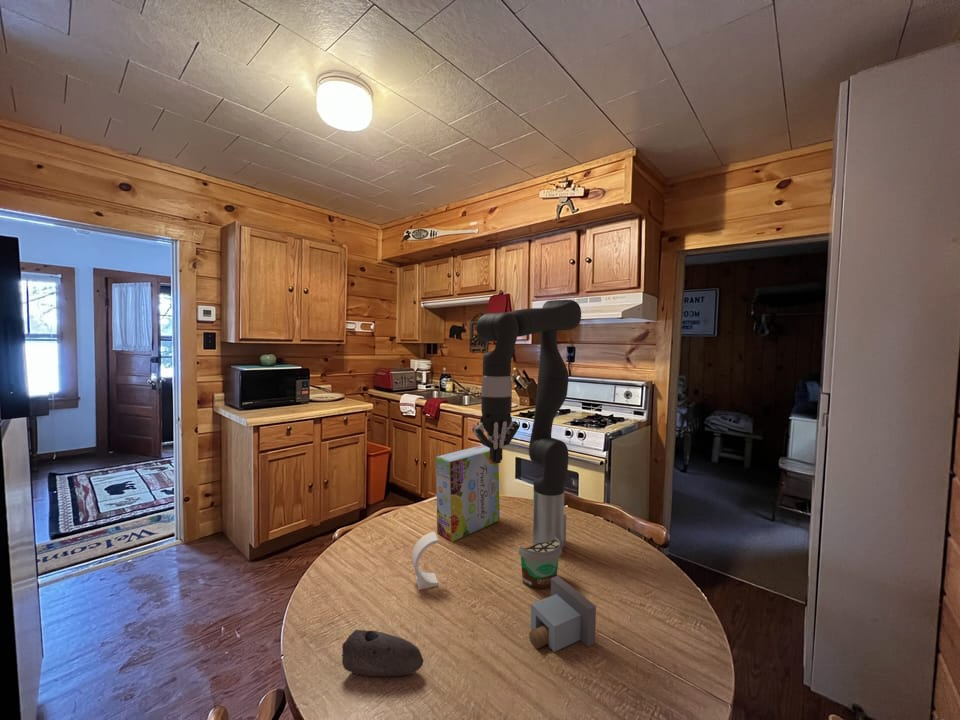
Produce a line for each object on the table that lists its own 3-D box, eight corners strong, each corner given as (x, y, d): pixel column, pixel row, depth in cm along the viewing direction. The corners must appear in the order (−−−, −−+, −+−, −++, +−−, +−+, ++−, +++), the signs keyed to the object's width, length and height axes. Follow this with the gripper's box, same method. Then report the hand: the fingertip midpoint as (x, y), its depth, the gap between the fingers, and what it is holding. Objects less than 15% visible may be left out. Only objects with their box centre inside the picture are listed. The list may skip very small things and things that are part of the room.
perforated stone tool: (426, 665, 76) (426, 630, 76) (419, 688, 71) (419, 651, 70) (352, 656, 78) (352, 622, 78) (339, 679, 73) (339, 642, 72)
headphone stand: (438, 585, 101) (438, 539, 100) (414, 590, 99) (414, 543, 98) (434, 575, 105) (434, 531, 104) (411, 580, 103) (411, 535, 102)
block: (556, 616, 89) (556, 594, 89) (580, 639, 82) (580, 615, 82) (530, 627, 86) (531, 603, 86) (554, 652, 79) (554, 626, 79)
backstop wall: (557, 609, 92) (557, 575, 92) (595, 643, 82) (595, 606, 81) (550, 611, 91) (550, 578, 91) (587, 647, 81) (588, 609, 80)
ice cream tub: (531, 598, 96) (532, 558, 96) (517, 584, 101) (518, 546, 101) (571, 584, 102) (572, 546, 101) (556, 571, 107) (556, 535, 107)
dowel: (557, 624, 86) (561, 614, 85) (566, 638, 84) (570, 627, 83) (527, 637, 82) (531, 627, 81) (536, 652, 80) (540, 641, 79)
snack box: (483, 513, 143) (484, 443, 142) (500, 522, 137) (501, 448, 135) (434, 533, 128) (434, 454, 127) (451, 543, 122) (451, 461, 121)
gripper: (510, 390, 104) (509, 455, 105) (466, 393, 98) (465, 462, 99) (527, 394, 98) (526, 463, 99) (480, 397, 92) (480, 471, 92)
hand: (495, 462), depth 99 cm, fingers closed
